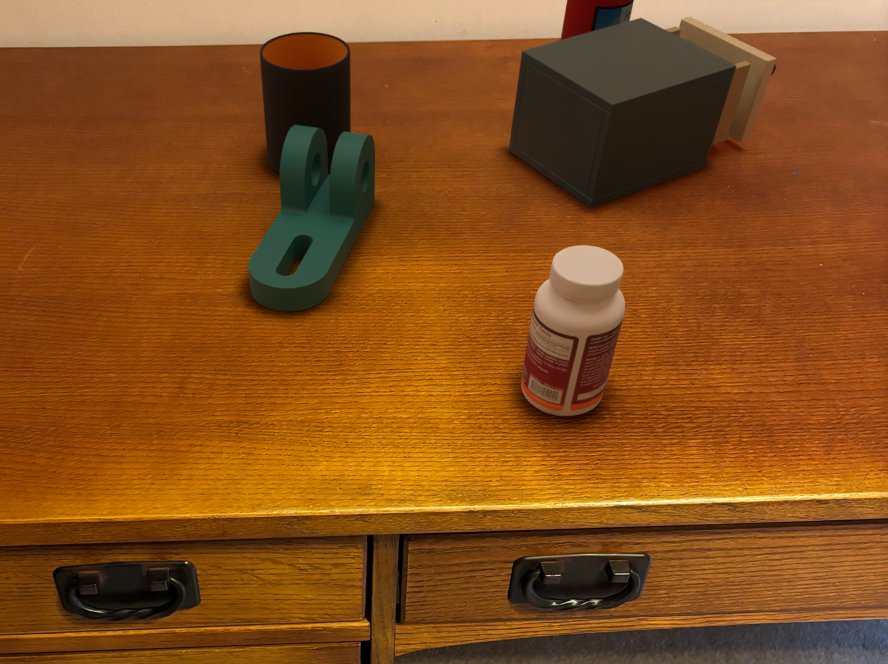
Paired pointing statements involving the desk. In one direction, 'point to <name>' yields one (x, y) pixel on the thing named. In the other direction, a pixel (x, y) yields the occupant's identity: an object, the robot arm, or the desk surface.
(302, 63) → the mug
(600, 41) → the dark grey box
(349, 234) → the bracket
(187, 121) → the desk surface
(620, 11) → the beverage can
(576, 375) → the pill bottle
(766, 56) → the drawer
